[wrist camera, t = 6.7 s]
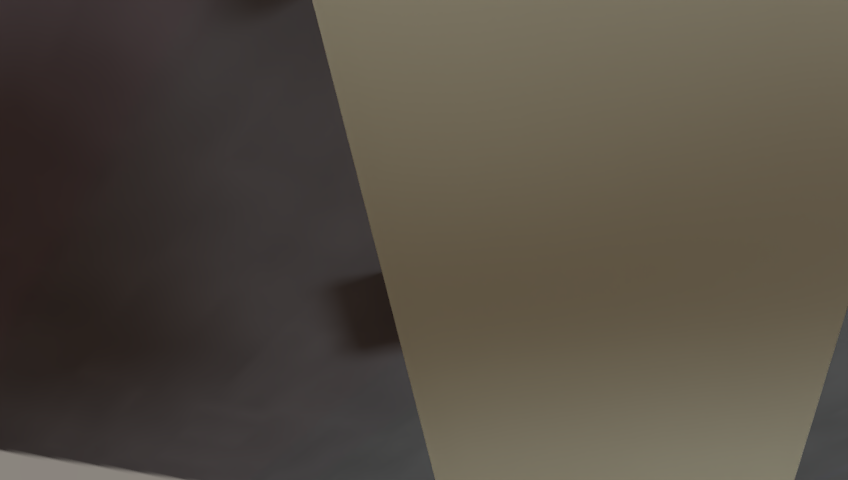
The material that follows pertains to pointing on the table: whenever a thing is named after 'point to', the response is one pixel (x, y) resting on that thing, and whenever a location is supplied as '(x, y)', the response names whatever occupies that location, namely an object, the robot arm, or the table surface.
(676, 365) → the tan wooden beam
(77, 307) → the table surface
